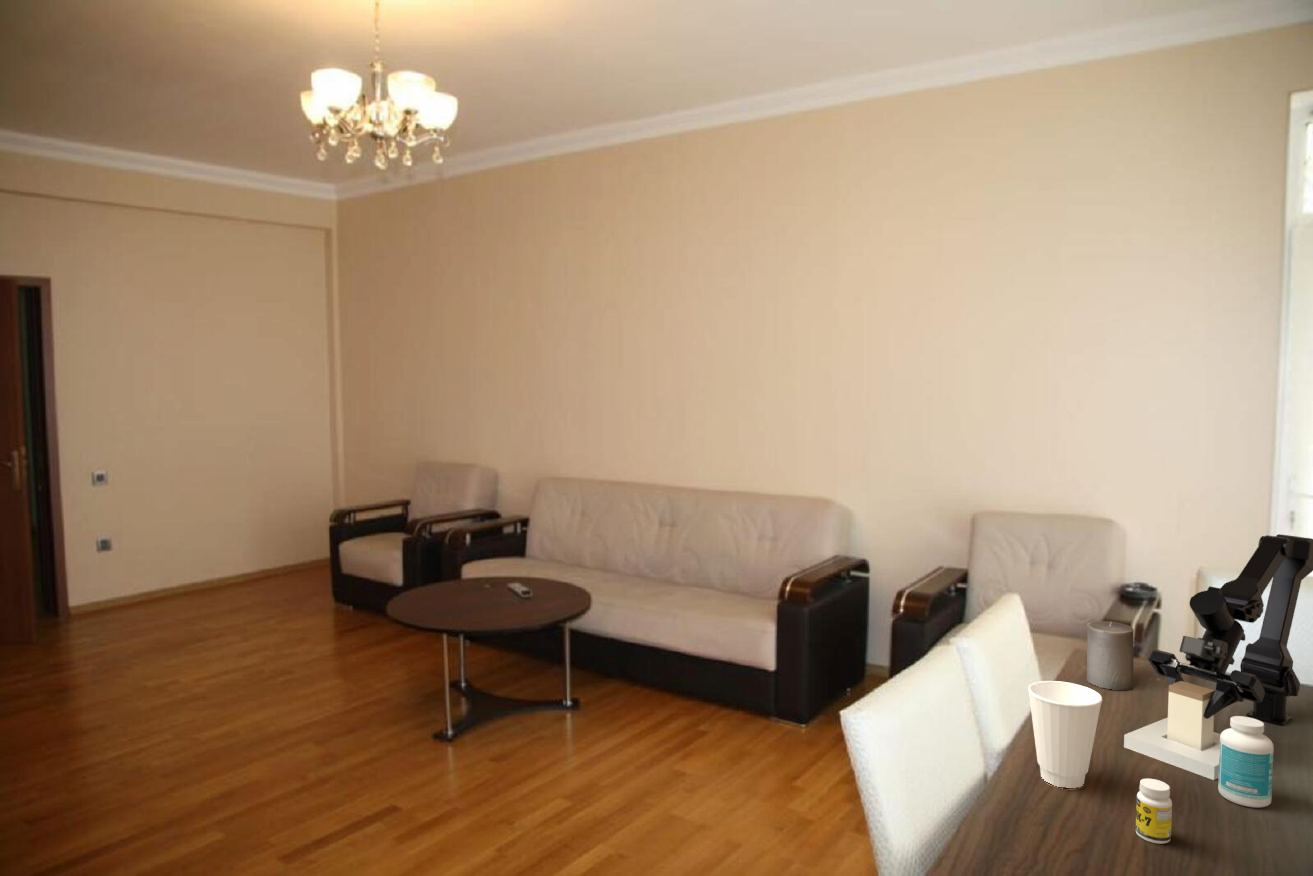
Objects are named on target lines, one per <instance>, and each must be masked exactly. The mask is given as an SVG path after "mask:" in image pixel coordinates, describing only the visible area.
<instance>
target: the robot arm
mask: <svg viewBox="0 0 1313 876" xmlns="http://www.w3.org/2000/svg"><path fill="white" fill-rule="evenodd" d="M1312 572H1313V538H1310V537H1304V536H1303V537H1301V536H1296V535H1295V536H1294V535H1290V534H1289V535H1287V534H1280V533H1279V534H1276V536H1274V535H1270V534H1269V535H1268V534H1267V535H1262V536H1261V537H1260V538H1259V541H1258V546H1257V547H1256V549H1255V551H1254V553H1253V554H1252V555H1251V556H1250V558H1249V560H1248V561H1247V563H1246V565H1245V566H1244V567H1243V569H1242V570H1241V572H1240V573H1239V575H1238V577H1236V579H1232V580H1230V581H1227V582H1224V584H1223V585H1222V586H1221V587H1215V586H1211V585H1210V586H1208V587H1207V590H1203V591H1199V592H1197V593H1194V595H1193V596H1191V597H1190V600H1189V606H1190V609H1191V611H1192V613H1193V614H1194V616H1195V618H1196V619H1197V621H1198V623H1199V624H1200V626H1201V627H1202V628H1204V629H1205V631H1204V633H1203V635H1202V637H1198V638H1197V637H1196V638H1195V637H1191V636H1187V635H1182V641H1181V644H1180V646H1179V650H1178V651H1179V653H1184V654H1185V656H1184V658H1185V659H1186V662H1190V663H1189V664H1188V663H1185V662H1184V663H1183V662H1180V661H1179V660H1178V658H1177V656H1176V655H1175V654H1174V653H1171V652H1167V651H1163V650H1160V649H1155V650H1152V651H1151V652H1150V653H1149V655H1148V657H1147V660H1148V662H1149V663H1150V666H1152V669H1154V671H1155V673H1156V674H1158V675H1159V676H1162V677H1165V678H1167V698H1168V697H1169V685H1171V684H1174V683H1177V682H1179V681H1184V679H1183V676H1185V675H1187V676H1191V677H1195V678H1198V679H1202V680H1204V681H1205V680H1206V681H1208V682H1209V681H1210V682H1213V683H1216V685H1215V689H1214V690H1215V692H1214V694H1213V696H1212V698H1211V700H1210V702H1209V703H1208V705H1207V707H1206V710H1205V713H1204V717H1205V718H1206V719H1208V718H1210V717H1211V716H1213V715H1214V716H1215V715H1216V714H1217V713H1219V712H1221V711H1222V710H1224V709H1225V708H1227V707H1228V706H1231V705H1232V704H1236V703H1237V702H1240V703H1243V702H1244V701H1245V700H1246V701H1250V702H1252V709H1251V710H1249V711H1247V712H1246V713H1245V717H1249V718H1253V719H1257V720H1259V721H1265V722H1268V723H1272V724H1276V725H1279V726H1283V725H1285V724H1286V723H1288V722H1289V721H1290V719H1291V720H1292V719H1293V715H1291V714H1287V705H1288V704H1287V702H1288V698H1289V697H1298V696H1299V691H1300V689H1301V687H1300V685H1301V682H1300V680H1299V678H1298V676H1297V675H1296V672H1295V671H1294V669H1293V668H1294V667H1293V666H1294V659H1293V658H1292V655H1291V653H1290V651H1289V649H1288V643H1289V637H1290V633H1291V629H1292V625H1293V620H1294V616H1295V612H1296V611H1295V610H1296V606H1297V602H1298V597H1299V593H1300V589H1301V584H1302V581H1303V580H1304V579H1305V578H1306V577H1307V576H1308V575H1310V574H1311V573H1312ZM1270 583H1271V584H1270ZM1269 585H1270V591H1269V595H1268V599H1267V603H1266V608H1265V612H1264V606H1265V604H1264V601H1263V597H1262V596H1263V594H1264V592H1265V590H1266V589H1267V587H1268V586H1269ZM1263 613H1264V616H1263V621H1262V625H1261V630H1260V633H1259V638H1258V639H1257V640H1255V641H1254V642H1253V643H1250V642H1249V643H1248V644H1247V645H1246V646H1245V653H1244V655H1243V657H1242V659H1241V661H1240V664H1239V665H1240V670H1237V669H1235V670H1234V669H1233V670H1232V671H1231V672H1230V674H1226V673H1227V670H1228V668H1229V666H1230V665H1231V666H1232V665H1234V663H1235V658H1234V655H1235V653H1236V650H1237V649H1238V646H1239V643H1240V642H1241V641H1243V642H1244V641H1246V634H1245V630H1244V627H1243V626H1242V624H1241V623H1240V622H1245V623H1248V624H1249V623H1251V624H1254V623H1255V622H1257V621H1258V619H1260V618H1261V616H1262V614H1263ZM1239 621H1240V622H1239ZM1184 682H1185V681H1184Z"/></svg>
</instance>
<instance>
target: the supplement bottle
mask: <svg viewBox="0 0 1313 876" xmlns="http://www.w3.org/2000/svg"><path fill="white" fill-rule="evenodd" d="M1138 789H1139V791H1138V792H1137V794H1136V804H1135V805H1136V808H1135V809H1136V810H1135V832H1136V835H1137V836H1138V837H1139V838H1141V839H1143V840H1145V841H1147V842H1149V843H1153V844H1161V845H1162V844H1163V845H1164V844H1167V843H1169V842H1170V841H1171V837H1172V819H1173V818H1172V817H1173V816H1172V815H1173V801H1172V799H1171V797H1170V796H1171V787H1170V785H1169V784H1167V783H1166V782H1164V781H1161V780H1159V779H1154V778H1142V779H1140V782H1139V787H1138Z"/></svg>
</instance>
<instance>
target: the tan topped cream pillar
mask: <svg viewBox="0 0 1313 876" xmlns="http://www.w3.org/2000/svg"><path fill="white" fill-rule="evenodd" d="M1215 690H1216V689H1211V688H1209V687H1208V688H1207V687H1205V686H1201V685H1197V684H1193V683H1191V682H1187V681H1179V682H1177V683H1174V684H1171V685H1169V697H1168V696H1167V717H1168V727H1167V739H1169V740H1172V741H1175V742H1178V743H1181V744H1184V745H1186V746H1189V747H1192V748H1195V749H1198V750H1201V751H1204V750H1207V749H1209V748H1211V747H1213V732H1214V725H1215V724H1214V722H1215V721H1214V720H1215V714H1214V715H1213V716H1211V717H1210V718H1208V719H1206V718H1205V717H1204V713H1205V710H1206V707H1207V705H1208V703H1209V702H1210V700H1211V698H1212V696H1213V694H1214V692H1215Z"/></svg>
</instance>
